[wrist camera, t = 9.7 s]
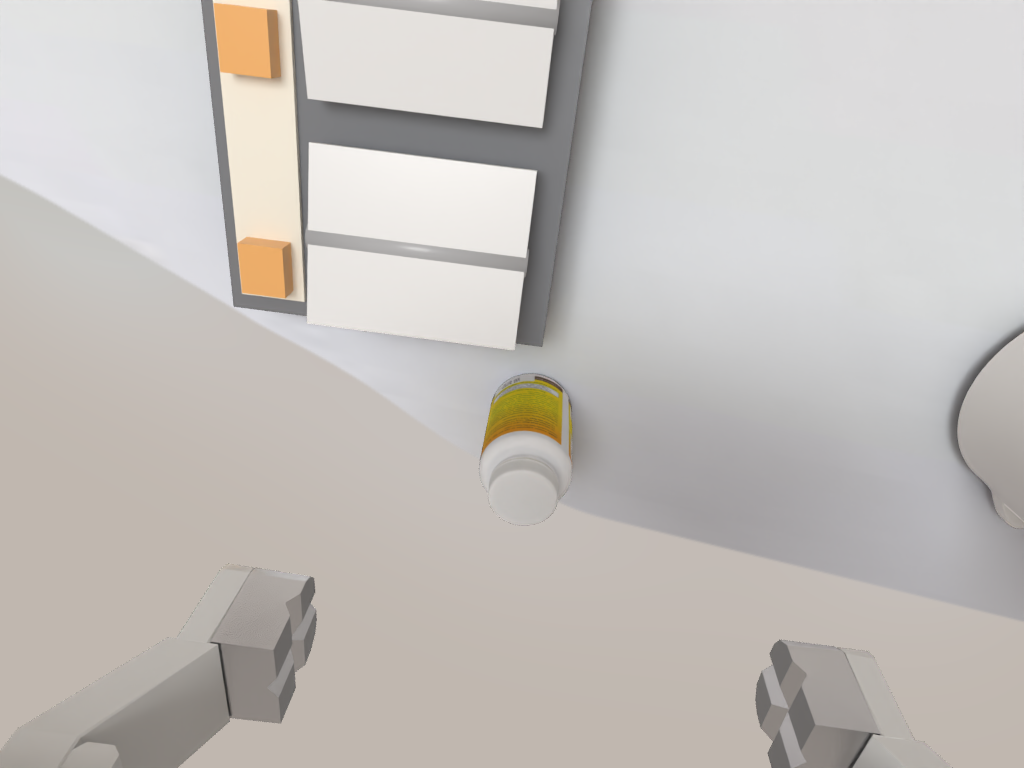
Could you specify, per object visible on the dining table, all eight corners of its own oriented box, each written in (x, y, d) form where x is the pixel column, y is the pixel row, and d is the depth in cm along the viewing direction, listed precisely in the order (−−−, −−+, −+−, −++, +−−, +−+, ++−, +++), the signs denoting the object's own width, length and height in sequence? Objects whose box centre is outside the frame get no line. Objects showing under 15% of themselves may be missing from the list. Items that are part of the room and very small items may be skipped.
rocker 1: (574, -116, 26) (573, -115, 25) (545, 119, 31) (544, 129, 30) (292, -150, 26) (279, -150, 25) (314, 90, 32) (304, 99, 30)
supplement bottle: (477, 388, 45) (455, 478, 36) (550, 357, 44) (545, 444, 35) (514, 449, 47) (501, 548, 39) (584, 422, 46) (588, 519, 37)
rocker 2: (539, 170, 33) (538, 171, 31) (517, 343, 36) (516, 351, 34) (316, 142, 33) (305, 142, 31) (313, 317, 36) (304, 323, 34)
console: (605, -110, 31) (613, -139, 26) (544, 313, 42) (541, 358, 36) (234, -155, 32) (162, -193, 26) (268, 277, 42) (221, 316, 37)
